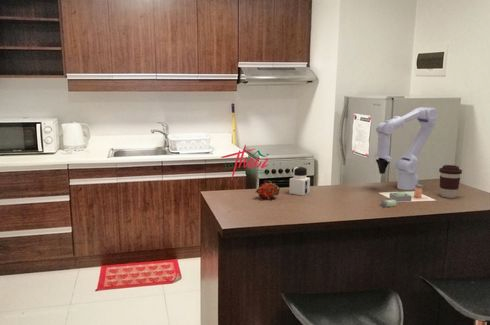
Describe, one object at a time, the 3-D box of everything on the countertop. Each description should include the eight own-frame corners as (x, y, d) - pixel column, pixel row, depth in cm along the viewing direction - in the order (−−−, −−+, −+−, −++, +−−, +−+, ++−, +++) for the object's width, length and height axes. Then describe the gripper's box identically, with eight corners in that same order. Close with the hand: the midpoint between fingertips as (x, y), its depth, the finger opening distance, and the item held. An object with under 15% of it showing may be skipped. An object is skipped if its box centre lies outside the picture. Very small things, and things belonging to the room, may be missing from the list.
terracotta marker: (414, 195, 205) (415, 183, 204) (421, 197, 204) (423, 184, 202) (413, 197, 202) (414, 185, 201) (420, 198, 201) (422, 186, 199)
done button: (401, 197, 201) (402, 191, 201) (406, 199, 198) (406, 193, 197) (394, 198, 201) (394, 191, 200) (398, 200, 197) (398, 193, 197)
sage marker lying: (392, 205, 191) (393, 198, 191) (396, 208, 188) (397, 200, 187) (380, 206, 190) (380, 199, 190) (383, 208, 187) (384, 200, 186)
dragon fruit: (281, 201, 205) (257, 206, 203) (276, 188, 210) (253, 192, 208) (283, 189, 198) (257, 194, 196) (277, 176, 204) (253, 181, 202)
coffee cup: (437, 197, 206) (440, 167, 204) (436, 193, 215) (439, 163, 213) (460, 199, 202) (463, 168, 200) (458, 195, 211) (461, 165, 209)
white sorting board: (415, 192, 216) (415, 186, 215) (436, 202, 198) (437, 195, 198) (378, 194, 212) (378, 187, 212) (396, 203, 195) (396, 196, 194)
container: (309, 192, 215) (310, 167, 213) (303, 195, 209) (304, 169, 207) (295, 190, 219) (296, 165, 217) (289, 193, 213) (289, 167, 211)
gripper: (369, 145, 220) (368, 170, 223) (383, 148, 206) (381, 176, 209) (382, 144, 222) (380, 170, 224) (396, 148, 207) (394, 176, 210)
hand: (382, 173), depth 216 cm, fingers closed
